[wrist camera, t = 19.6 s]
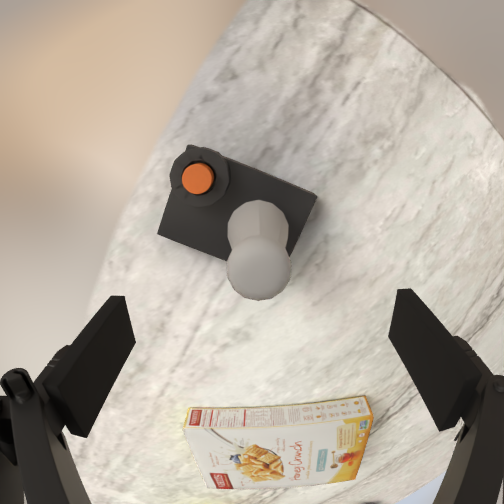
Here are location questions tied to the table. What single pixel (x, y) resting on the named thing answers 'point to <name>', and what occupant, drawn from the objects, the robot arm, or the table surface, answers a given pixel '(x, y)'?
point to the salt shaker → (258, 250)
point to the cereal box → (279, 443)
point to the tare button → (197, 178)
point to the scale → (226, 202)
